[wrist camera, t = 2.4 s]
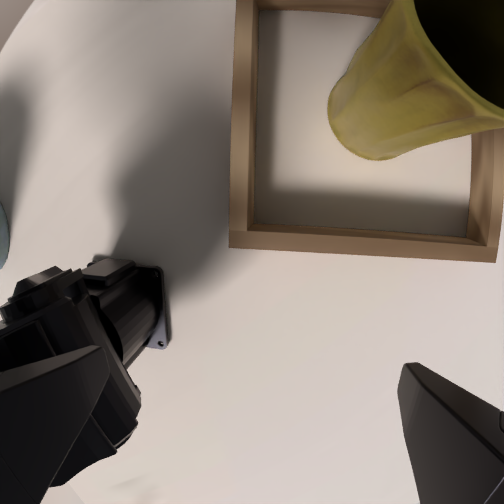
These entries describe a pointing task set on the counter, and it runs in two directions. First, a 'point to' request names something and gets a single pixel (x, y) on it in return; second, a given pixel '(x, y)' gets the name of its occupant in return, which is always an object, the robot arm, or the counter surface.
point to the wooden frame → (344, 239)
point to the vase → (422, 78)
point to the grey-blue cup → (3, 237)
